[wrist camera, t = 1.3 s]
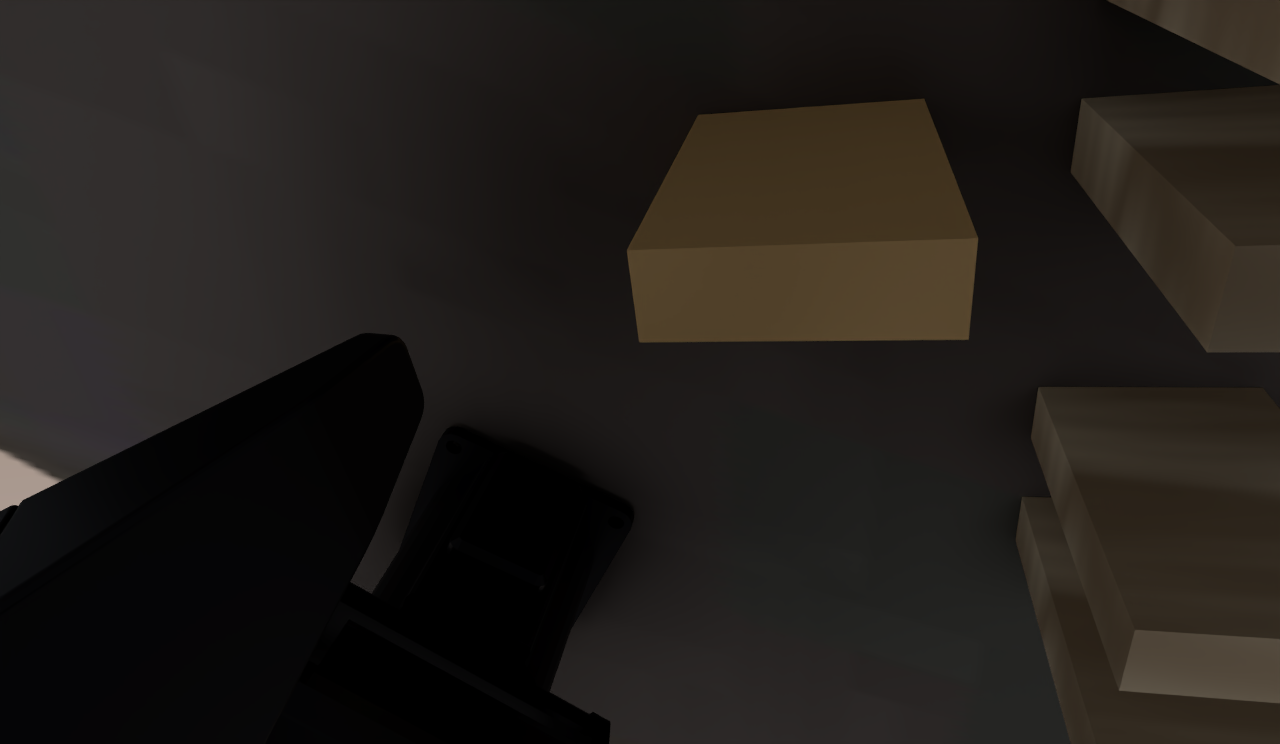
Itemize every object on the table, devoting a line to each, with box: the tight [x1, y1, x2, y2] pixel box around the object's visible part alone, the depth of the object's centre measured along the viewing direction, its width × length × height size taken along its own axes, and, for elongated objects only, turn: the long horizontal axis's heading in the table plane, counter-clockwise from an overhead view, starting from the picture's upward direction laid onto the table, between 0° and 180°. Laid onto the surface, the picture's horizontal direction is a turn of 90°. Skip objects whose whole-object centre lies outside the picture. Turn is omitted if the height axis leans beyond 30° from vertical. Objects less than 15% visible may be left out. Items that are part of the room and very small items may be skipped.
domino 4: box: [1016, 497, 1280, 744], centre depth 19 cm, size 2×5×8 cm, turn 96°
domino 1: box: [627, 99, 978, 342], centre depth 16 cm, size 2×5×8 cm, turn 97°
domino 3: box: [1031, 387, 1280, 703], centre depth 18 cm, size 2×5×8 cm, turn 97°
